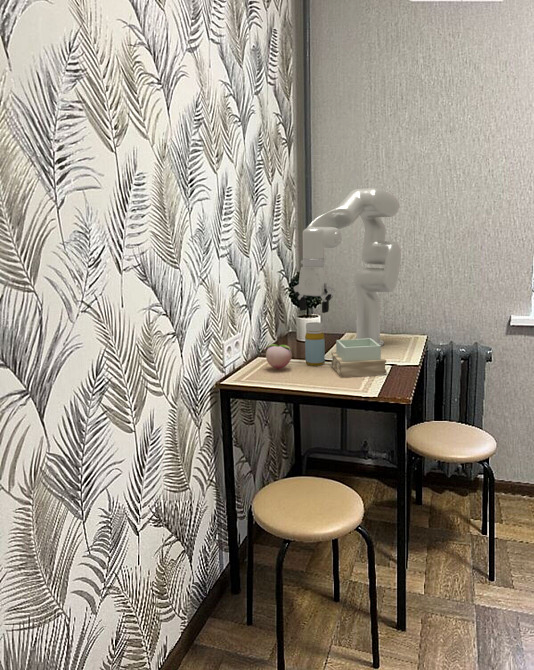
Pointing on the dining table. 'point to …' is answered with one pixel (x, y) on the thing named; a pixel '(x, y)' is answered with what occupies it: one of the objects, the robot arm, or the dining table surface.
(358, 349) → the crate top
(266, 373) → the dining table surface
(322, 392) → the dining table surface
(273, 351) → the decorative fruit
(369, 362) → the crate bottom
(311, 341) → the bottle
